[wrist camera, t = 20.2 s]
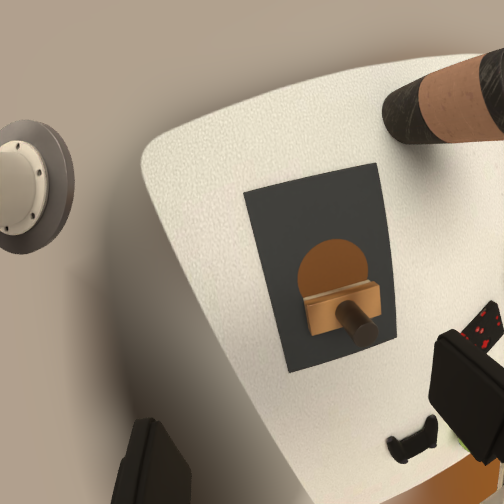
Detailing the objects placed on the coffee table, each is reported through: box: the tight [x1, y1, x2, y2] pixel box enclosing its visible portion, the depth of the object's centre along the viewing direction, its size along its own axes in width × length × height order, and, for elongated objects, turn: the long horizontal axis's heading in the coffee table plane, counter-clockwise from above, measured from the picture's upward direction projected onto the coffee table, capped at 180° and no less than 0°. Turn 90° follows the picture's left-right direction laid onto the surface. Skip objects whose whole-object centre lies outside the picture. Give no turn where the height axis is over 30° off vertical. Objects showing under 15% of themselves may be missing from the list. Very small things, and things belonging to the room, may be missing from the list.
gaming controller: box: [387, 415, 438, 464], centre depth 44 cm, size 11×4×7 cm
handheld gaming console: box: [461, 300, 504, 353], centre depth 37 cm, size 9×12×10 cm
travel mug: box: [382, 48, 504, 144], centre depth 23 cm, size 8×8×20 cm
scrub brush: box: [303, 280, 381, 347], centre depth 33 cm, size 9×4×9 cm, turn 103°
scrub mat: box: [243, 163, 397, 373], centre depth 36 cm, size 16×24×1 cm, turn 14°
